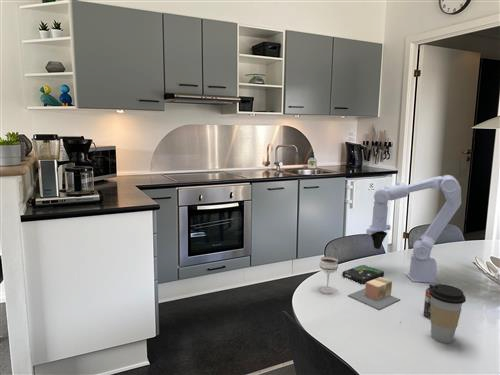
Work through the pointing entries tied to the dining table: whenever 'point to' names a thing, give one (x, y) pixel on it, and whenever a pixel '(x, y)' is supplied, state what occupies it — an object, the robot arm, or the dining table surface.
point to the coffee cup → (445, 311)
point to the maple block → (378, 288)
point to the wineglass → (328, 270)
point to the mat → (371, 302)
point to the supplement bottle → (428, 300)
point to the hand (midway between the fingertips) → (377, 248)
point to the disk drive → (362, 274)
